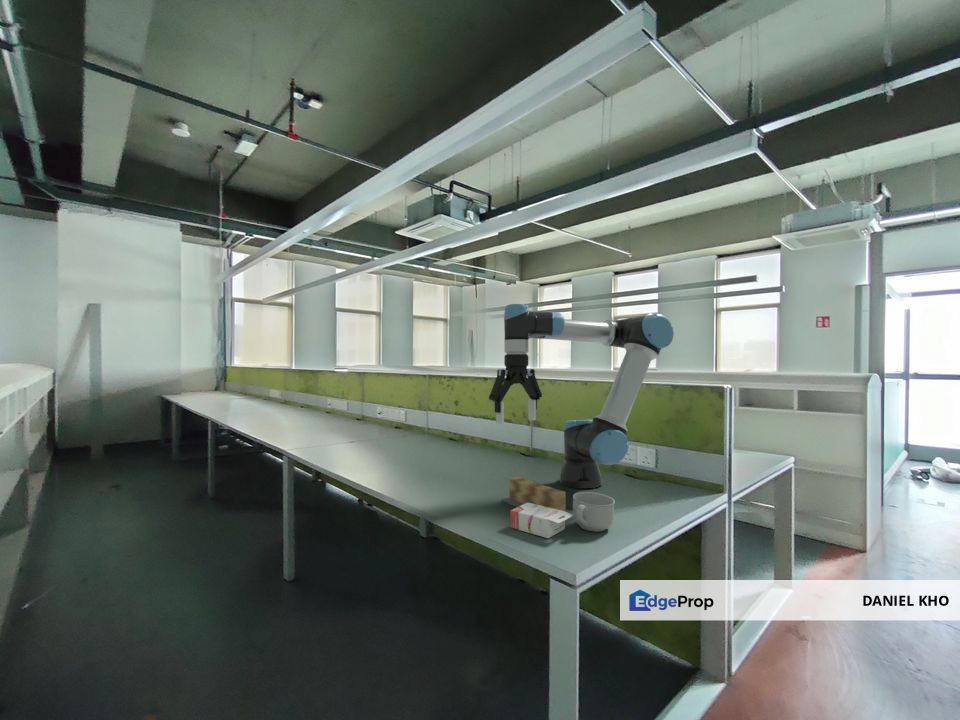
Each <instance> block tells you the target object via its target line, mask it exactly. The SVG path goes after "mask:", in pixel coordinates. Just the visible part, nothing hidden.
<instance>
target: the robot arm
mask: <svg viewBox="0 0 960 720" xmlns="http://www.w3.org/2000/svg"><path fill="white" fill-rule="evenodd" d="M503 315H504V316H503V320H504V321H503V323H504V343H503V344H504V346H503V347H504V353H506V354H504V357H503V358H504V359H503V360H504V366H505V369H504V368H499V369H497V372H496V377H495V381H494V383H493V386H492V388H491V392H490V394H489V397H488V399H489V400H490V401H492V402H493V403H494V413H495V418H496V419H495V420H496V421H495V423H496V424H500V425H504V424H505V404H504V403H505V402H504V401H503V400H504V397H505V396H506V395H507V393H508V391H509V390H510V388H511V387H512V386H513V385H516V384H517V385H518V384H519V385H521V386H522V387H523V389H524V391H525V393H526V394H527V395H528V397H529V399H527V404H528V406H527V407H528V408H527V413H528V416H527V417H528V418H527V419H528V420H529V421H536V420H537V408H538V401H539V400H540V399H541V398H542V396H543V394H542V391H541V389H540V386H539V383H538V381H537V377H536V373H535V371H536V370H535V369H534V368H528V366H529V355H528V353H529V339H539V340H541V339H543V340H556V341H569V342H570V341H571V342H573V341H574V342H582V343H583V342H585V343H598V344H600V343H601V344H602V345H603V346H605V347H616V348H621V349H624V350H625V355H624V357H623V359H622V361H621V364H620V366H619V369H618V372H617V373H616V375H615V378H614V380H613V383H612V386H611V387H610V390H609V392H608V394H607V398H606V400H605V403H604V404H603V407H602V409H601V412H600V414H597V415H596V416H593V418H592V419H571V420H566V421H565V422H564V426H563V435H564V436H563V439H564V440H563V448H564V449H563V451H564V453H563V455H564V457H563V458H564V461H563V464H562V467H561V470H560V471H561V472H560V474H559V484H561V485H562V484H563V486H564V485H565V487H567V486H569V487H568V488H571V487H573V489H578V488H593V489H597V488H596V487H598V488H600V487H599V486H601V485H602V486H603V477H602V475H601V471H600V468H599V465H601V464H602V465H605V466H613V465H616V464H618V463H620V462H621V461H623V460H624V459H625V457H626V455H627V454H628V451H629V443H628V442H629V441H628V437H627V435H628V431H629V430H628V428H627V426H626V423H627V421H628V419H629V416H630V413H631V411H632V408H633V406H634V403H635V401H636V399H637V397H638V394H639V391H640V389H641V387H642V384H643V382H644V379H645V377H646V374H647V371H648V370H649V367H650V366H651V365H650V364H651V362H652V361H653V360H655V359H658V357H659V355H660V352H661V350H662V349H664V348H667V347H669V345H671V344H672V341H673V339H674V336H675V335H674V334H675V333H674V327H673V326H672V323H671V321H670V320H669V319H668V317H666V316H665V315H664V314H660V313H649V314H645V315H640V316H634V317H628V318H623V319H616V320H615V319H614V320H613V319H611V320H610V319H607V320H604V321H603V322H601V321H589V320H580V319H579V320H578V319H576V320H575V319H565V317H564V315H563V314H562V313H560V312H554V311H548V312H547V311H531V310H529V305H528V304H525V303H510V304H508V305H505V307H504V313H503ZM602 486H601V487H602Z"/></svg>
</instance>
